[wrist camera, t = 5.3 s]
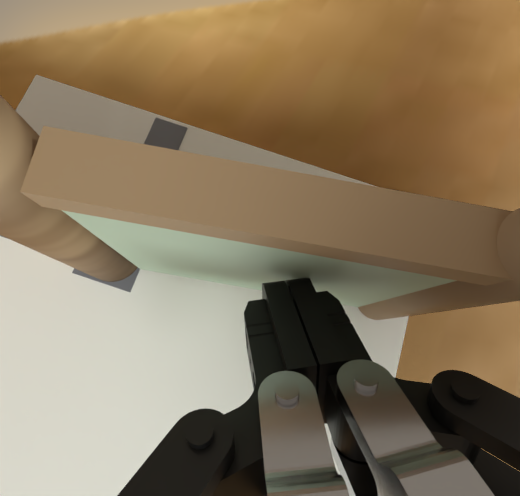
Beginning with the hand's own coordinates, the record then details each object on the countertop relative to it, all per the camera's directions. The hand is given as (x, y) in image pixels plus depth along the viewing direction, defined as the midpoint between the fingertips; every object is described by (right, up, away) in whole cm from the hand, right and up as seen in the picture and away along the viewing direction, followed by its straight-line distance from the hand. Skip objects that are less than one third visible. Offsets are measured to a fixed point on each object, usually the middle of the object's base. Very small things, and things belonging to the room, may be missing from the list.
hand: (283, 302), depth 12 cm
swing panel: (0, 0, +4) cm, 4 cm away
